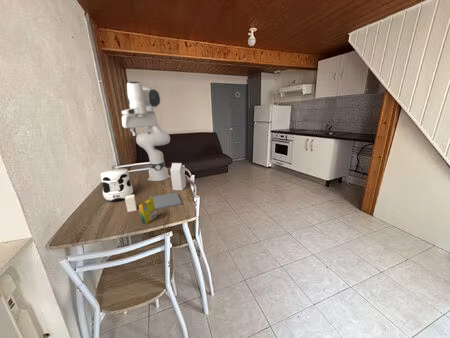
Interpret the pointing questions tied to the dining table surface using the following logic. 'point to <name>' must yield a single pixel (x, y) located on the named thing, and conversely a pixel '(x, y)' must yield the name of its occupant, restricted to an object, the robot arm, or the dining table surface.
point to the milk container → (116, 184)
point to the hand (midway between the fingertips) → (142, 135)
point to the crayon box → (147, 210)
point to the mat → (166, 200)
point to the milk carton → (178, 176)
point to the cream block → (130, 203)
